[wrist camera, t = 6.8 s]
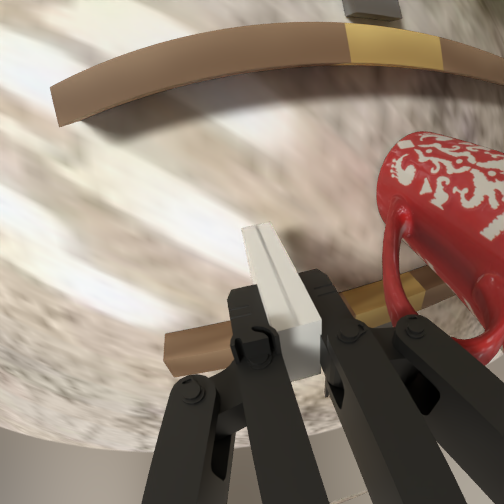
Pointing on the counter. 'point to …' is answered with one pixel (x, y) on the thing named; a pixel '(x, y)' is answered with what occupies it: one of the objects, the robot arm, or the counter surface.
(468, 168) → the mug
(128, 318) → the counter surface
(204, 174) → the counter surface
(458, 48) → the beam slot
